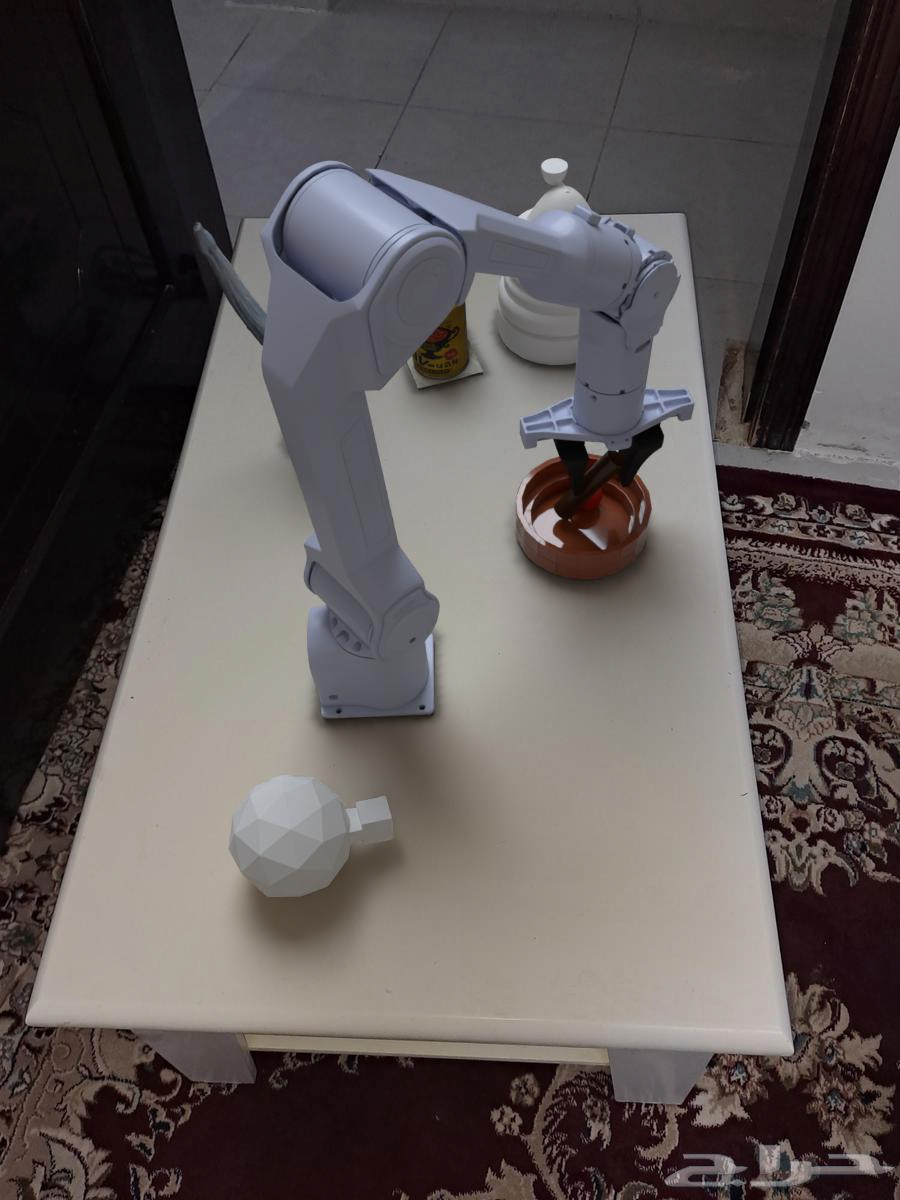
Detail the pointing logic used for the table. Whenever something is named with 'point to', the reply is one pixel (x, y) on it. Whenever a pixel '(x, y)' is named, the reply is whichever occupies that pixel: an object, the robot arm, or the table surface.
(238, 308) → the antler
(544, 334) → the honey pot
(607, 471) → the stick
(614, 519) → the bowl
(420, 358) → the condiment
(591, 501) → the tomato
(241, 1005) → the table surface
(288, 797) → the perfume bottle
